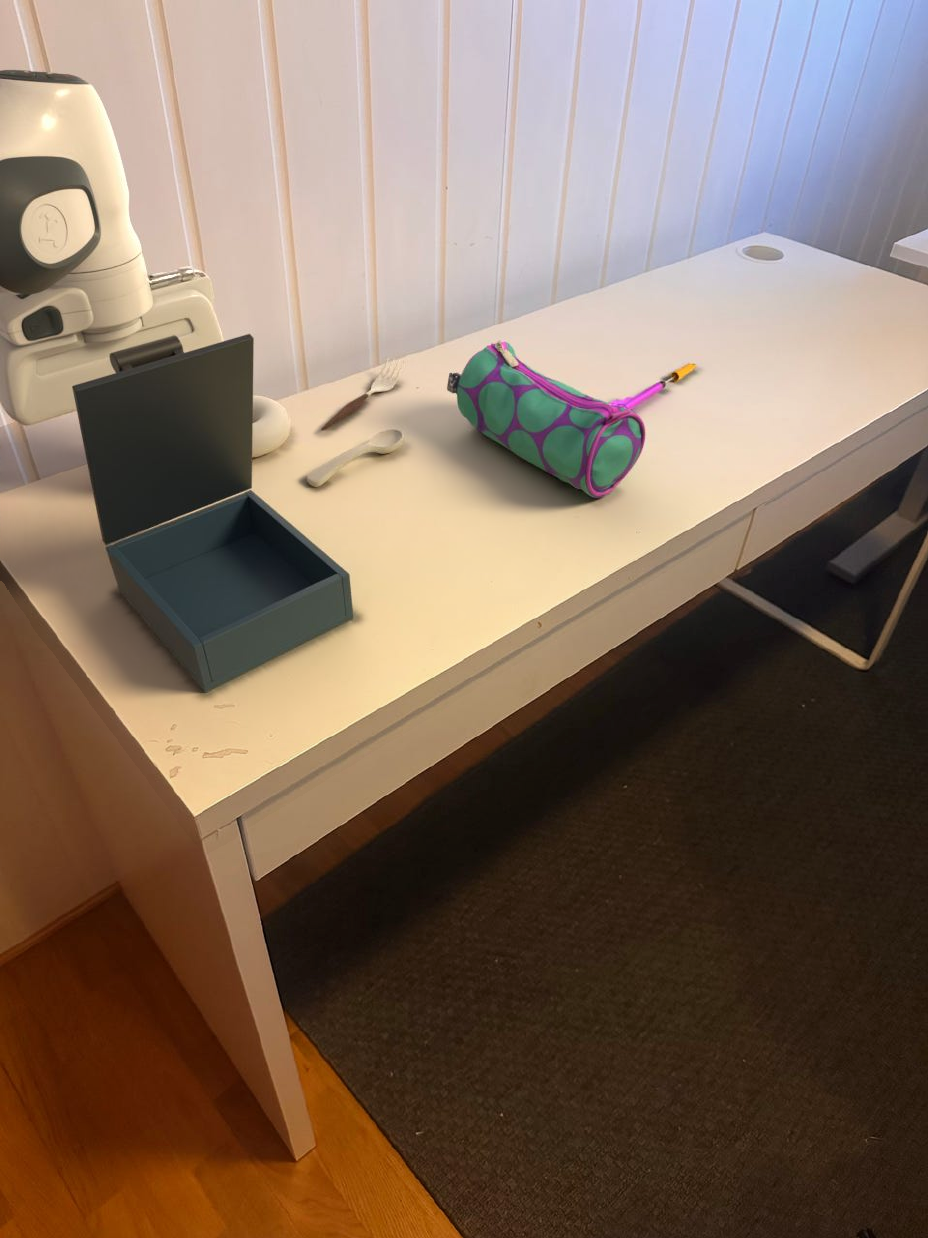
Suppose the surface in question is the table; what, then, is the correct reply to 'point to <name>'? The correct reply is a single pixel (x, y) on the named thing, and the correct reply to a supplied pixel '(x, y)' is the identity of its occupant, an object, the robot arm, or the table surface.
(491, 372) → the pencil case
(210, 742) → the table surface
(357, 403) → the fork
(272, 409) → the donut
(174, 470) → the lid
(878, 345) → the table surface
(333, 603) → the teal shallow open box
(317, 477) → the spoon
